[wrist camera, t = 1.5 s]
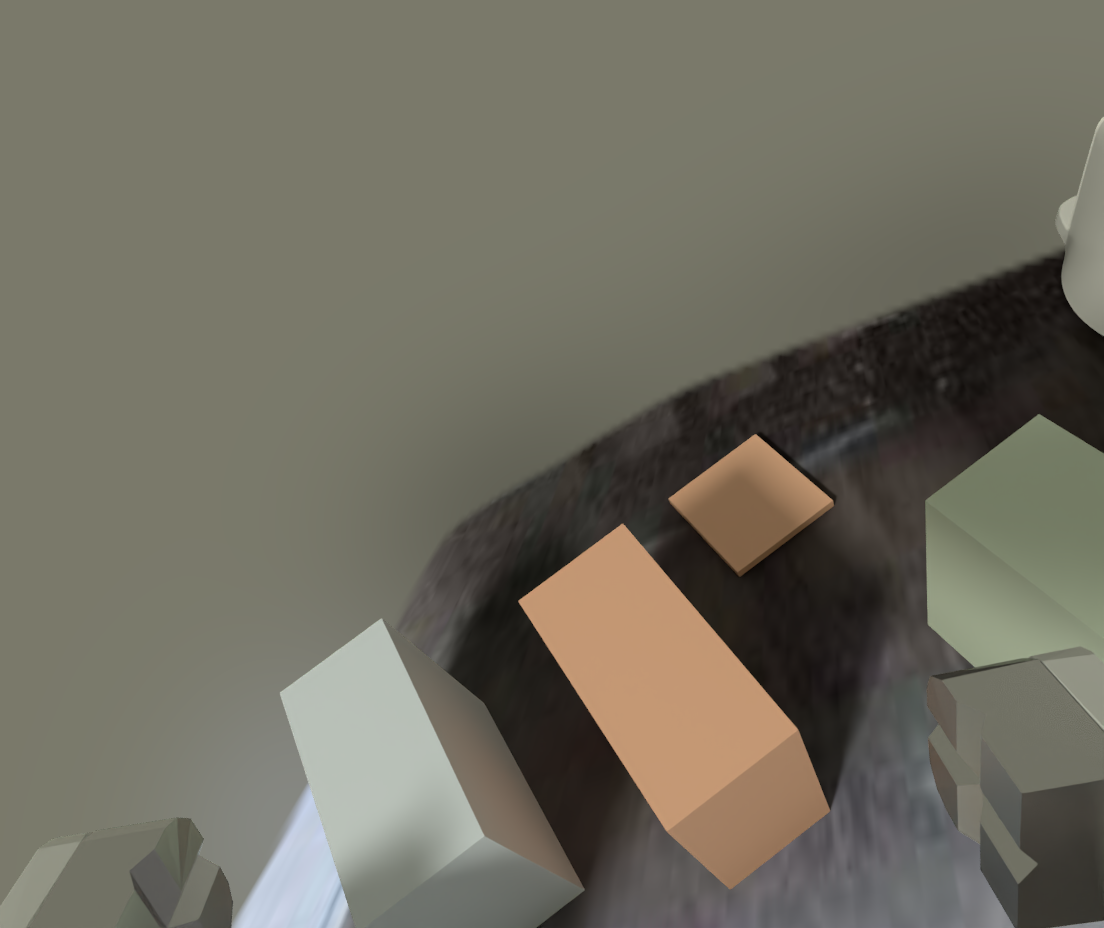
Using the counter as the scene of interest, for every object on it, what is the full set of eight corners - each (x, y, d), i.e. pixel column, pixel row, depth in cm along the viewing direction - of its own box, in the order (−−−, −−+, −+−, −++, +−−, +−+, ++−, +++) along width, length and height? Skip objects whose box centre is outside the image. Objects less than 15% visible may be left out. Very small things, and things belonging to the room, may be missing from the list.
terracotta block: (683, 630, 46) (622, 523, 37) (830, 811, 38) (798, 729, 29) (599, 693, 46) (517, 601, 37) (730, 889, 38) (667, 831, 29)
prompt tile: (757, 439, 52) (755, 433, 51) (833, 505, 47) (832, 500, 47) (670, 503, 51) (668, 498, 51) (739, 577, 47) (737, 572, 46)
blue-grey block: (484, 703, 48) (381, 618, 39) (585, 890, 40) (484, 836, 31) (402, 765, 48) (279, 692, 39) (487, 965, 40) (357, 933, 31)
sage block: (1017, 555, 42) (1038, 413, 33) (1262, 741, 34) (1378, 620, 25) (927, 624, 41) (925, 500, 33) (1154, 829, 34) (1232, 738, 25)
